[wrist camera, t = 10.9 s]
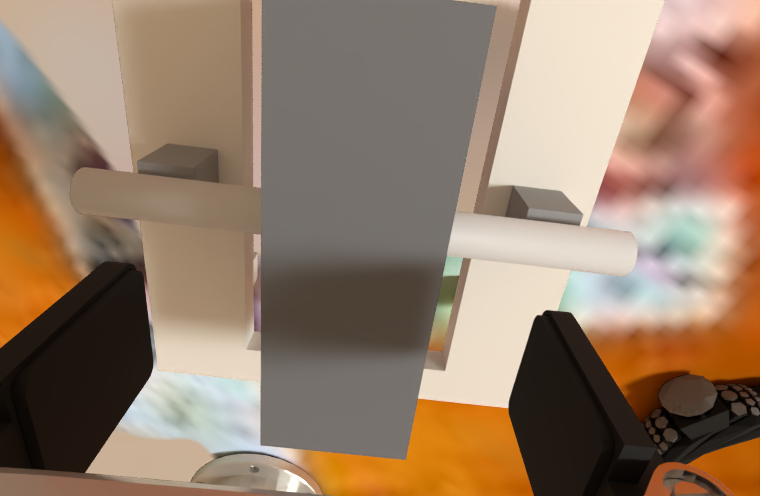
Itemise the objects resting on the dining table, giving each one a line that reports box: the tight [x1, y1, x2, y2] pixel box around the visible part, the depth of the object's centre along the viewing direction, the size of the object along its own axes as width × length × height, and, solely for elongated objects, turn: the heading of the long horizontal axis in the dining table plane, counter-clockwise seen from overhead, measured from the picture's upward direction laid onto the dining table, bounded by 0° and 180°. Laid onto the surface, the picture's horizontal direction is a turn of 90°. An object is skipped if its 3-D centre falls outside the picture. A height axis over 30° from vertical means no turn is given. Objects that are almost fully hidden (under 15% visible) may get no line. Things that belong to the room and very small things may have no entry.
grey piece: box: [261, 0, 497, 460], centre depth 18 cm, size 14×5×12 cm, turn 173°
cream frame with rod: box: [70, 0, 665, 408], centre depth 22 cm, size 22×19×14 cm
